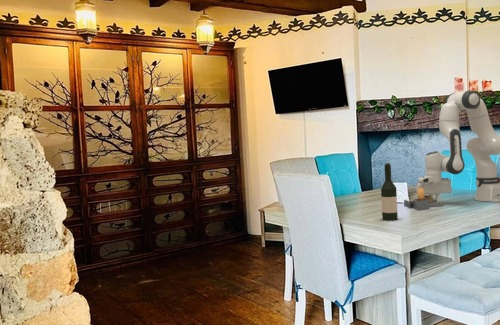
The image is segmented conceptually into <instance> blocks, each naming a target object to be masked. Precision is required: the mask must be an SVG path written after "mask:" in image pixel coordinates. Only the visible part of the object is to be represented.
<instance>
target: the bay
mask: <svg viewBox="0 0 500 325" xmlns="http://www.w3.org/2000/svg"><path fill="white" fill-rule="evenodd" d="M403 205H404V206H405V207H406V208H409V209H413V200H407V199H404V200H403ZM444 206H445V205H444V202H443V201H438V200H437V201H433V202H431V203H429V208H431V207H432V208H434V207H436V208H437V207H444Z"/></svg>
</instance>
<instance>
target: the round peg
mask: <svg viewBox="0 0 500 325" xmlns="http://www.w3.org/2000/svg"><path fill="white" fill-rule="evenodd" d="M417 190H418V194H417V199H418V201H420V200H424V196H425V195H424V188H418V189H417Z"/></svg>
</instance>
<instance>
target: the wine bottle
mask: <svg viewBox="0 0 500 325" xmlns="http://www.w3.org/2000/svg"><path fill="white" fill-rule="evenodd" d="M380 193H381V194H380V198H381V216H382V217H381V218H382V221H387V222H389V221H391V222H394V221H398V220H399V218H398V196H397V187H396V185H395V184H394V181H392V165H391V162H390V163H389V162H386V163H385V164H384V181H383V184H382V186H381V188H380Z"/></svg>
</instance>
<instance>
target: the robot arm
mask: <svg viewBox="0 0 500 325" xmlns="http://www.w3.org/2000/svg"><path fill="white" fill-rule="evenodd" d="M464 110H465V111H466V114H467V118H468V122H469V126H470V130H471V131H472V132H473V133H474V134H475V135H476V136H477V137H473V138H470V139H469V140H468V141H467V142H466V150H467V151H468V152H469V153H470V154H471V156H472V158H473V160H474V163H475V170H476V177H475V186H476V191H475V196H474V200H475V201H477V202H492V203H499V202H500V177H498V169H497V168H498V166H497V163H496V162H494V160H492V158H491V156H496V155H500V135H499V134H498V133H497V132H496V131H495V129H494V127H493V125H492V123H491V119H490V116H489V112H488V109H487V106H486V104H485V102H484V100H483V99H482V98H481V97H480V94H478V92H476V91H475V90H462V91H458V92H453V93H450V94H448V95H447V96H446V98H445V100H444V103H443V104H442V105H441V108H440V111H439V120H438V128H439V132H440V134H442V136H444V137H445V138H446V139H447V140H448V142H449V155H446V154H443V153H441V152H439V151H437V150H436V151H431V152H430V151H429V152H428V153H426V154H425V159H424V166H425V175H424V176H420V177H418V178H417V184H416V187H415V188H416V190H415V192H416V194H417V195H418V190H417V189H418V188H424V196H426V195H429V196H432V200H433V201H437V202H438V199H439V196H440V195H441V194H451V193H452V191H453V189H452V179H451V178H450V177H442V172H444V173H448V174H452V175H459V174H461V173H462V172H463V171H464V169H465V161H464V158H463V153H462V152H463V151H462V137H461V136H462V134H461V131H460V113H461V111H464ZM434 195H435V197H434Z"/></svg>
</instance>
